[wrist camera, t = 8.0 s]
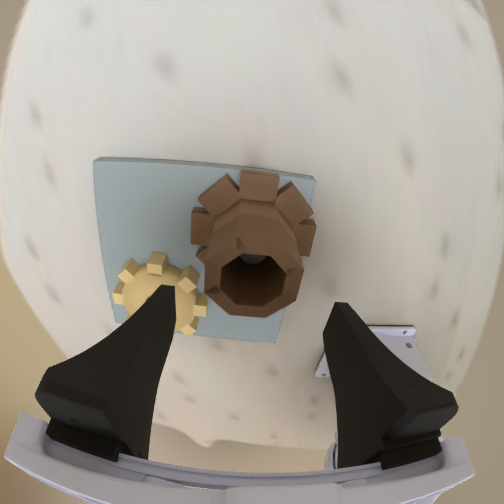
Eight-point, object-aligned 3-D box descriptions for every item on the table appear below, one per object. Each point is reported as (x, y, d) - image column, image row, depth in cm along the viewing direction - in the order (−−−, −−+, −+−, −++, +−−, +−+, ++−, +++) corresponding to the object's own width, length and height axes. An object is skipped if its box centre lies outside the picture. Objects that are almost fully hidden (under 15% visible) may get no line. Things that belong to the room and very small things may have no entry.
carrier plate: (312, 176, 19) (326, 197, 15) (274, 335, 26) (277, 368, 23) (99, 157, 18) (70, 174, 14) (119, 315, 25) (105, 345, 22)
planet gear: (322, 179, 18) (350, 218, 13) (298, 281, 22) (310, 340, 17) (196, 164, 17) (172, 198, 12) (192, 270, 21) (176, 328, 16)
